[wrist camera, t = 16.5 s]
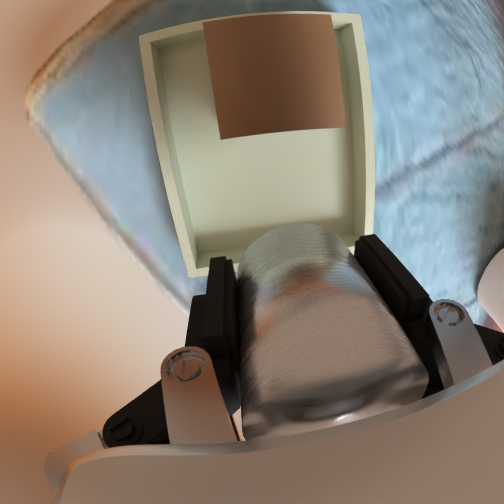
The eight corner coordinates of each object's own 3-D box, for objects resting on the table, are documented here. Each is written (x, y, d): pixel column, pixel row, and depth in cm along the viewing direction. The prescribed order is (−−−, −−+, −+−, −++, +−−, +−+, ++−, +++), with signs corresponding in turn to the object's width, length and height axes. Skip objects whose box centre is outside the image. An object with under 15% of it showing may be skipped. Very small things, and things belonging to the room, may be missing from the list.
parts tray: (344, 24, 13) (360, 14, 11) (357, 234, 20) (371, 251, 18) (151, 44, 13) (138, 35, 11) (193, 257, 20) (189, 277, 18)
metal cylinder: (353, 215, 10) (454, 331, 4) (348, 312, 12) (400, 431, 7) (226, 233, 10) (223, 384, 4) (245, 329, 12) (255, 463, 7)
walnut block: (299, 42, 13) (330, 14, 8) (309, 119, 16) (345, 127, 10) (213, 50, 13) (202, 22, 8) (225, 128, 16) (220, 140, 10)
